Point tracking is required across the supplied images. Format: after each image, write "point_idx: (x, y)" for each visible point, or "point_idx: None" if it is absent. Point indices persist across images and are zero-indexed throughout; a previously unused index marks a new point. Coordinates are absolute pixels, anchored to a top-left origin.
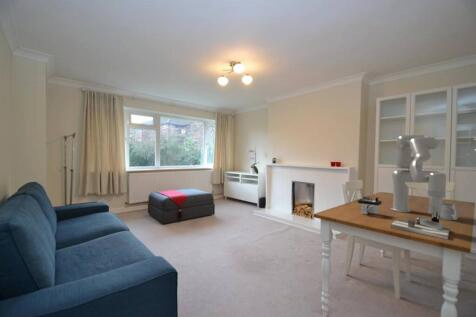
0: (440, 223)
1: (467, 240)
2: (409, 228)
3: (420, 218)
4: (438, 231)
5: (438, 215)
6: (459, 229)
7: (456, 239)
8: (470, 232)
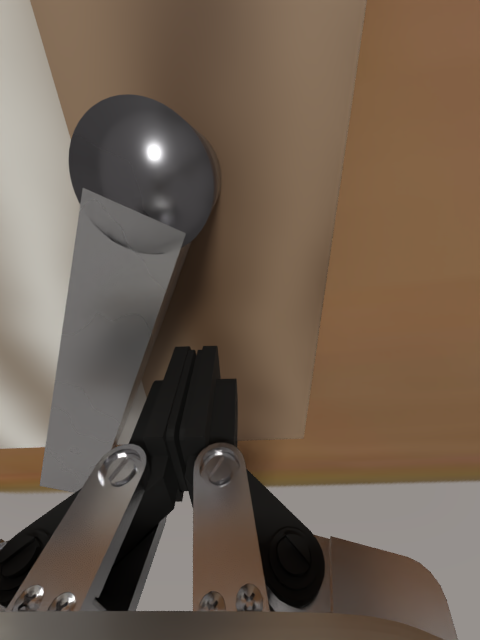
0: (61, 481)
1: None
2: None
3: (90, 216)
4: (33, 396)
5: (122, 602)
6: (397, 445)
7: None
8: (351, 481)
